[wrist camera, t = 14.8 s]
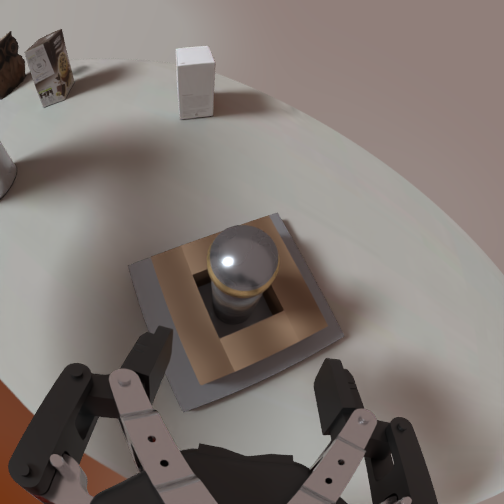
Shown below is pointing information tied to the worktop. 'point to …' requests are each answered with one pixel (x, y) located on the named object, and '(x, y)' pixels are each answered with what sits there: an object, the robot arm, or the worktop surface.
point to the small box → (195, 81)
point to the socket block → (250, 338)
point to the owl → (10, 65)
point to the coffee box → (50, 68)
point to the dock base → (228, 332)
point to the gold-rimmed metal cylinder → (240, 271)
